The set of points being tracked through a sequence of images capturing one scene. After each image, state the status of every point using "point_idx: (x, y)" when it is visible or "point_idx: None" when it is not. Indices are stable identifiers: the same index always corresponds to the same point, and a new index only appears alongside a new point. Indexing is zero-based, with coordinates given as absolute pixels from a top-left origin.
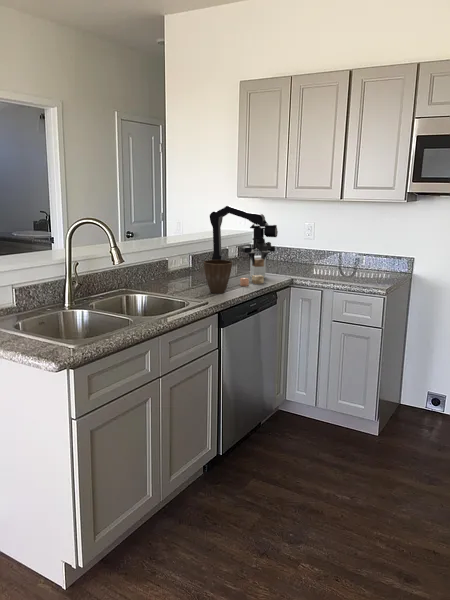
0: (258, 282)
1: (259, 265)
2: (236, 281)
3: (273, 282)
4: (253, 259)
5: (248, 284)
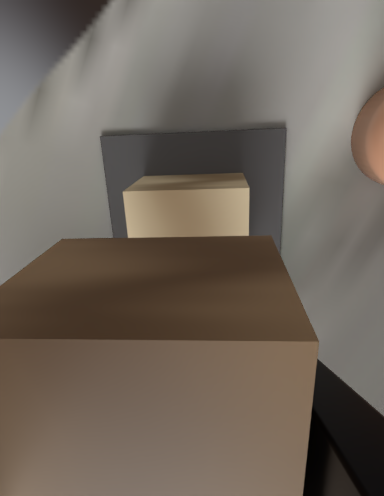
0: (205, 175)
1: (168, 248)
2: (361, 352)
3: (21, 201)
4: (375, 436)
5: (377, 97)
